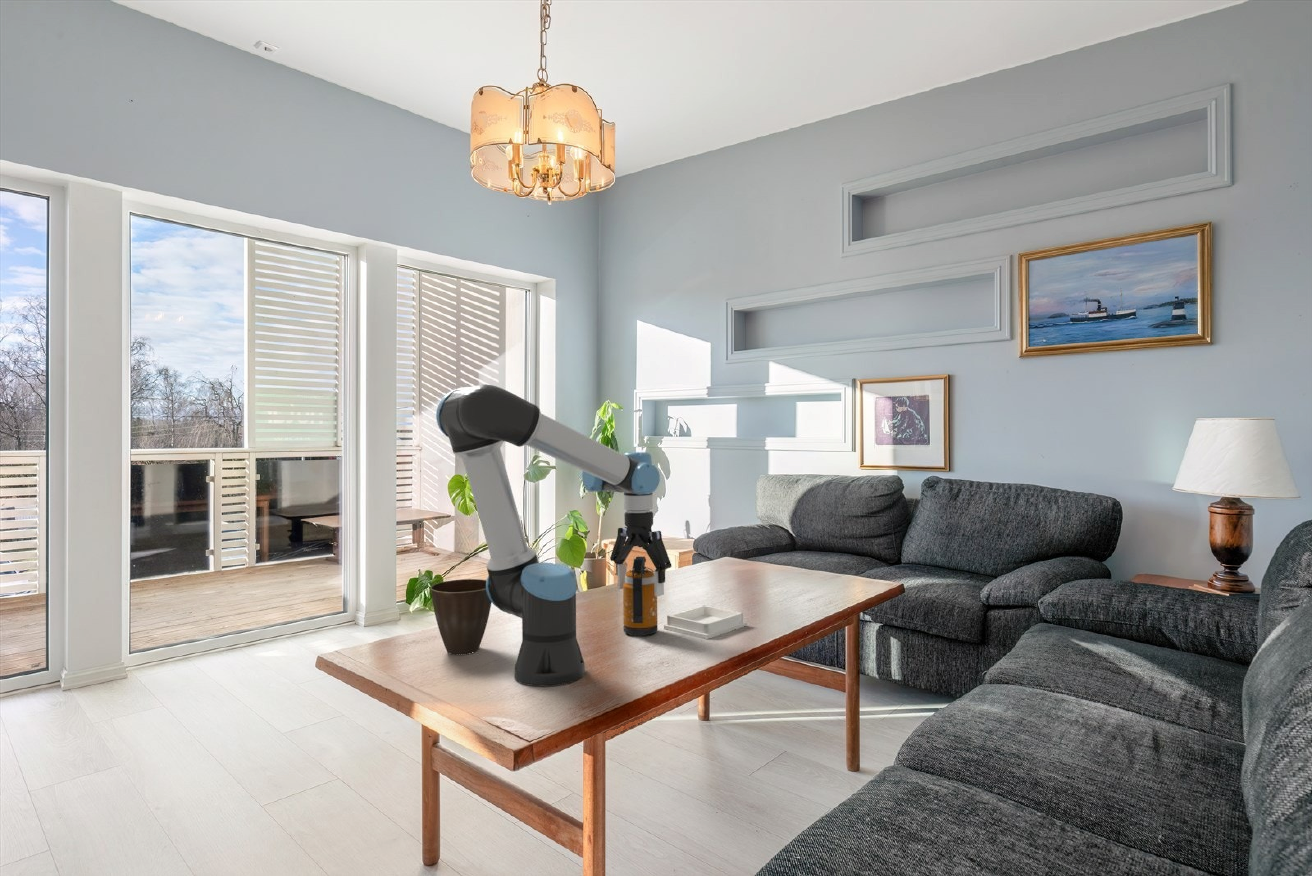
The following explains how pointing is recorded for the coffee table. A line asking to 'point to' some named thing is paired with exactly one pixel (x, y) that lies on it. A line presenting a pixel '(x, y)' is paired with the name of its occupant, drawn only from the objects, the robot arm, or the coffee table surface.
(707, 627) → the tray
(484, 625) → the plant pot
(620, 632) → the coffee table surface
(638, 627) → the canister
